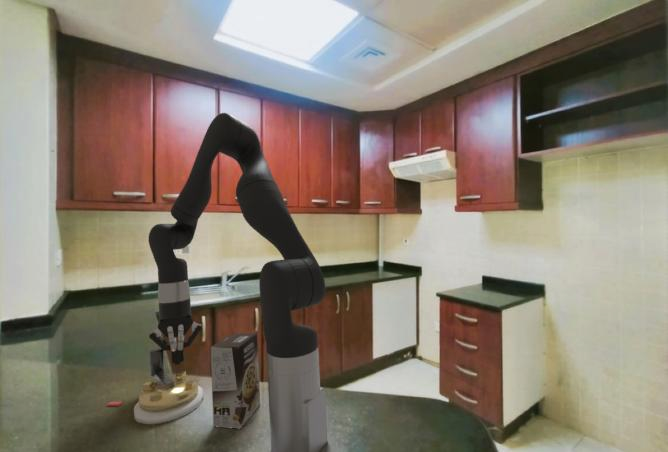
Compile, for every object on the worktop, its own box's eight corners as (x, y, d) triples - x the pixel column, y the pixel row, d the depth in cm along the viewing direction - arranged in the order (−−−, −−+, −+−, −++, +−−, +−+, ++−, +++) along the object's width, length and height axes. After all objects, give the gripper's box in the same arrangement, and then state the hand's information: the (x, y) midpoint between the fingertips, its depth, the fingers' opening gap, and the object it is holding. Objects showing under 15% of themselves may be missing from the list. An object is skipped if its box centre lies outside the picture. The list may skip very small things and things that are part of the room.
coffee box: (241, 430, 61) (238, 347, 61) (212, 427, 62) (208, 346, 62) (261, 404, 70) (258, 332, 70) (235, 402, 71) (232, 331, 71)
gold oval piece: (206, 395, 71) (204, 360, 71) (145, 418, 63) (144, 378, 63) (181, 371, 85) (179, 342, 85) (129, 388, 76) (127, 355, 77)
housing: (216, 396, 74) (215, 389, 74) (160, 430, 62) (160, 423, 62) (177, 386, 81) (177, 380, 81) (120, 415, 68) (120, 408, 68)
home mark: (123, 403, 73) (122, 401, 73) (118, 406, 72) (118, 404, 72) (111, 403, 74) (111, 401, 74) (107, 406, 73) (107, 404, 73)
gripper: (201, 292, 88) (205, 353, 88) (148, 299, 83) (152, 364, 83) (201, 297, 81) (205, 363, 81) (143, 305, 76) (147, 375, 76)
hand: (178, 363), depth 82 cm, fingers closed
